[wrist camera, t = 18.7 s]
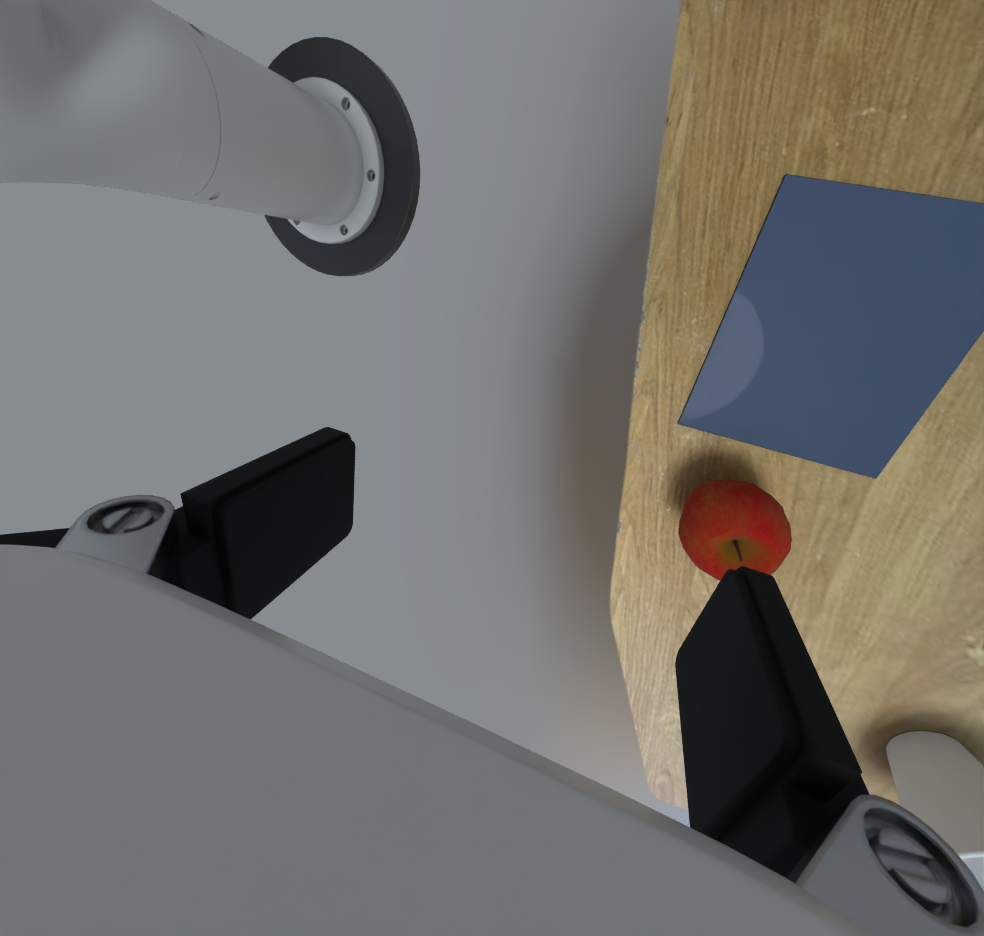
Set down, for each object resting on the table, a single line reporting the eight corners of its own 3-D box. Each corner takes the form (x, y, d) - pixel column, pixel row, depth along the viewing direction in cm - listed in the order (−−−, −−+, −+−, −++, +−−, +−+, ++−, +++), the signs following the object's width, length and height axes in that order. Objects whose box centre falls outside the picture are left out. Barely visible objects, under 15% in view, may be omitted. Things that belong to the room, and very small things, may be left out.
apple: (666, 463, 41) (674, 516, 32) (764, 449, 38) (805, 503, 28) (679, 536, 44) (690, 604, 35) (772, 528, 40) (812, 602, 31)
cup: (1013, 724, 41) (1147, 882, 30) (988, 799, 45) (1098, 963, 34) (863, 706, 45) (932, 839, 34) (852, 777, 49) (912, 915, 38)
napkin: (677, 423, 39) (678, 424, 39) (784, 175, 30) (786, 174, 30) (874, 477, 36) (876, 478, 36) (1063, 216, 27) (1067, 215, 26)
